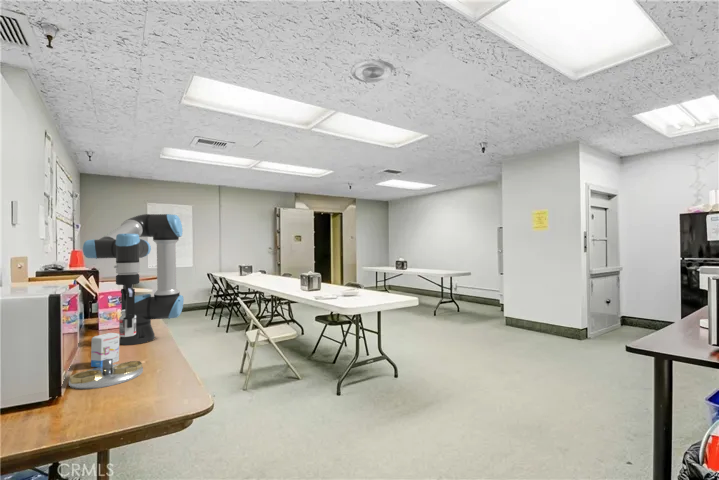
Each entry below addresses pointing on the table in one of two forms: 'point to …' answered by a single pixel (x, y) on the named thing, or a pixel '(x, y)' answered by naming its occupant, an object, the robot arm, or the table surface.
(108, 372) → the carrier
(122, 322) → the pill bottle
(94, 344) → the ink box
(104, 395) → the table surface
